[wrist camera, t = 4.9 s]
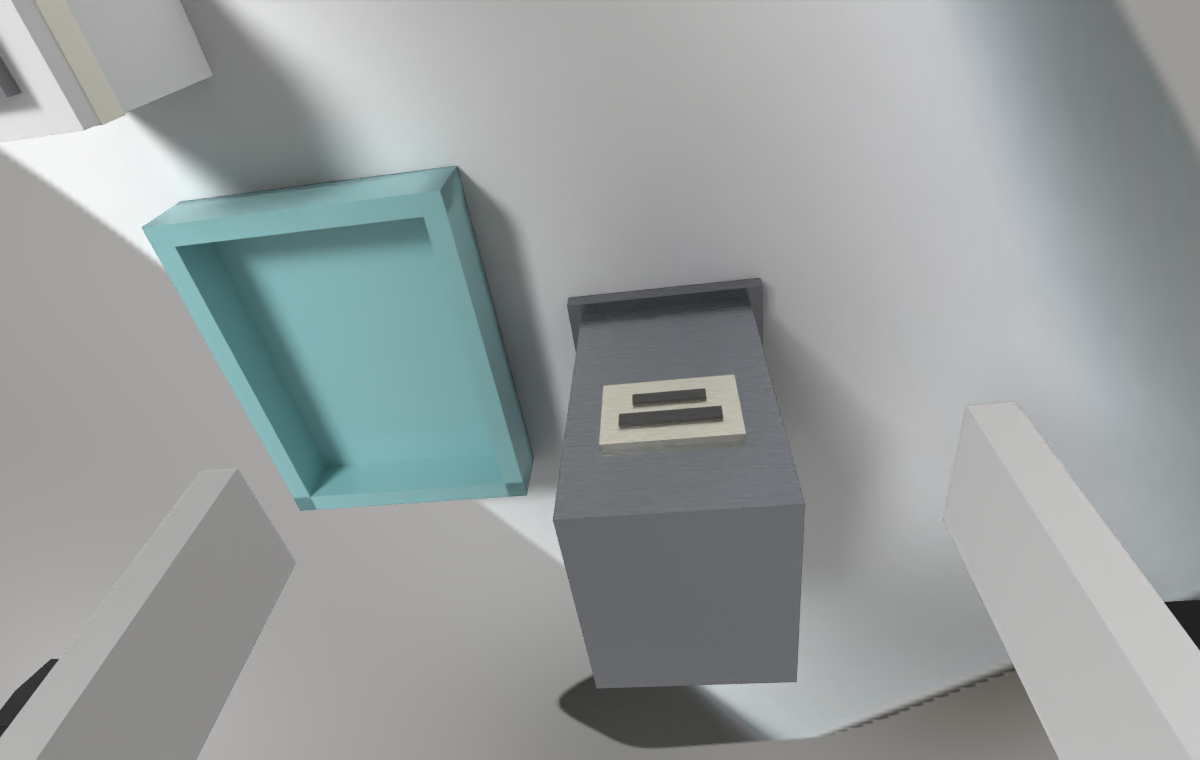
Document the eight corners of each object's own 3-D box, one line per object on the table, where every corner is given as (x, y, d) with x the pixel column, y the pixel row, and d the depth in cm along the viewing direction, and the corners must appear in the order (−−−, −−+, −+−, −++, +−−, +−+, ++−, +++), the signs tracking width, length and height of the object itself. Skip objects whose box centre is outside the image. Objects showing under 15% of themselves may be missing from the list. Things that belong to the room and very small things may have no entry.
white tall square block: (29, -48, 26) (-200, -27, 19) (151, -70, 25) (-38, -57, 18) (103, 93, 29) (-70, 157, 22) (214, 76, 28) (73, 136, 21)
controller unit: (568, 297, 33) (531, 507, 22) (759, 278, 32) (825, 488, 21) (600, 466, 40) (584, 696, 28) (760, 454, 38) (811, 689, 27)
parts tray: (180, 201, 31) (141, 227, 29) (456, 165, 30) (440, 190, 27) (320, 474, 41) (300, 510, 39) (533, 458, 39) (526, 495, 37)
